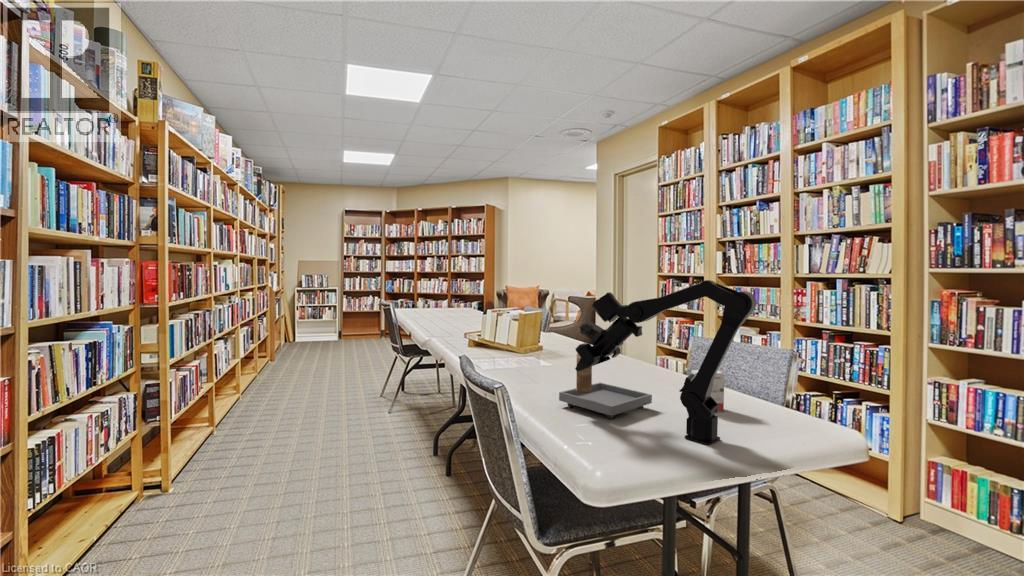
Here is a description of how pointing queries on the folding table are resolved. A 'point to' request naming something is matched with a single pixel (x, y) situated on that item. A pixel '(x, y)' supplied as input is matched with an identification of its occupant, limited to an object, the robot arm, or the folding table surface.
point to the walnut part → (584, 379)
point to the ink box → (717, 389)
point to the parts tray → (606, 399)
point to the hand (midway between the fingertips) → (580, 368)
